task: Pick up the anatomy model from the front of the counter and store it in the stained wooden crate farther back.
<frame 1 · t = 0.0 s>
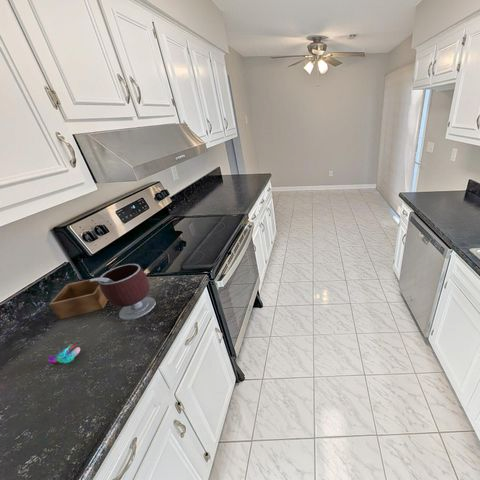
crate: (89, 303, 106), on the worktop
anatomy model: (69, 358, 81), on the worktop
mate gourd: (136, 310, 100), on the worktop
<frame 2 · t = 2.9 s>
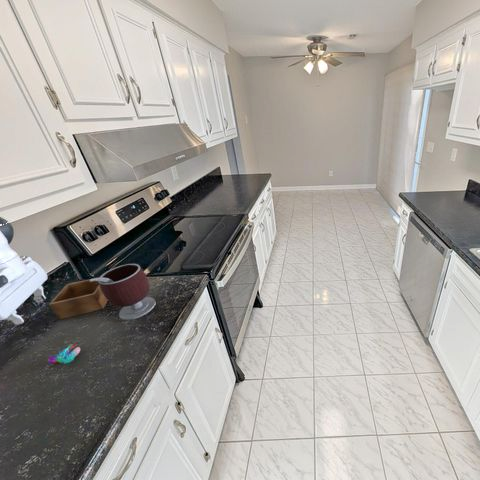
hand: (32, 311, 73), 20 cm above the worktop, tool pointing down, fingers open, 8 cm apart
nothing on the worktop moved.
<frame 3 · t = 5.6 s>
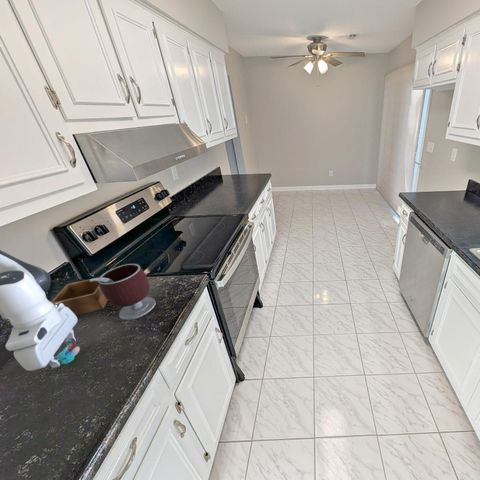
hand: (65, 353, 80), 3 cm above the worktop, tool pointing down, fingers closed on anatomy model, 7 cm apart
anatomy model: (69, 357, 81), on the worktop, touching gripper
everything else where it was.
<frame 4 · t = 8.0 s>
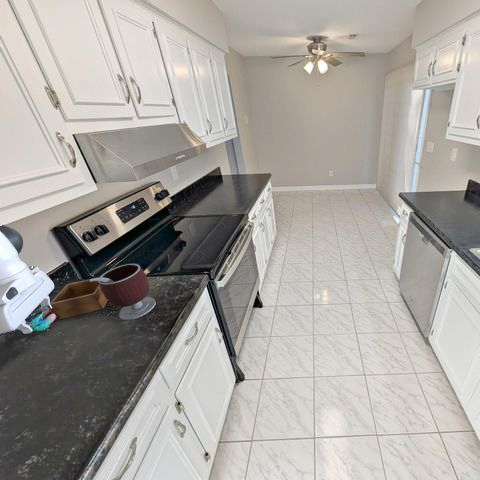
hand: (39, 320, 74), 16 cm above the worktop, tool pointing down, fingers closed on anatomy model, 7 cm apart
anatomy model: (43, 324, 76), point 14 cm above the worktop, touching gripper
everything else where it was.
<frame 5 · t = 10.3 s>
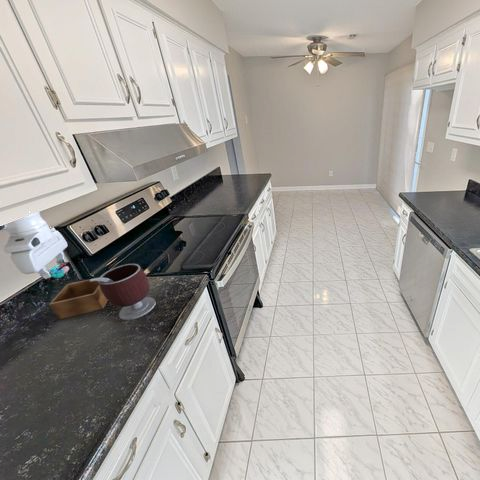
hand: (55, 270, 90), 21 cm above the worktop, tool pointing down, fingers closed on anatomy model, 7 cm apart
anatomy model: (59, 274, 92), point 19 cm above the worktop, touching gripper
everything else where it was.
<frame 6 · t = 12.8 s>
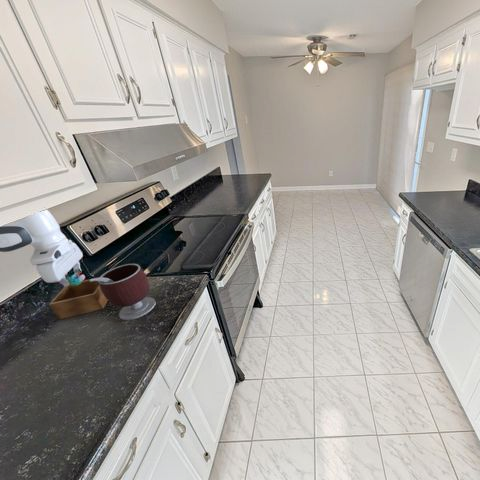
hand: (73, 278, 100), 13 cm above the worktop, tool pointing down, fingers closed on anatomy model, 7 cm apart
anatomy model: (76, 282, 101), point 10 cm above the worktop, touching gripper
everything else where it was.
when the fingers open (7 cm above the worktop, at t = 15.1 s): anatomy model drops 4 cm, resting on crate.
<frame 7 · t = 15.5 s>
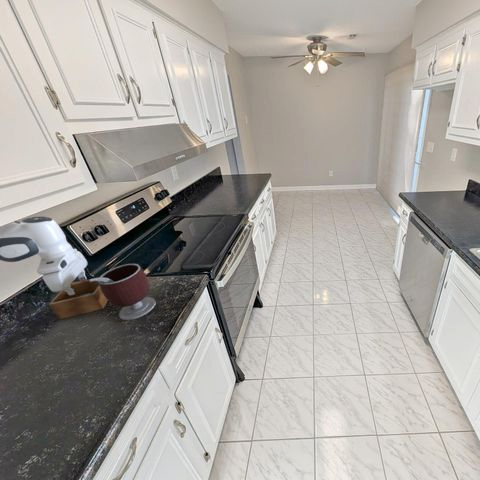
hand: (78, 286, 102), 9 cm above the worktop, tool pointing down, fingers open, 8 cm apart
anatomy model: (88, 302, 105), resting on crate
everything else where it was.
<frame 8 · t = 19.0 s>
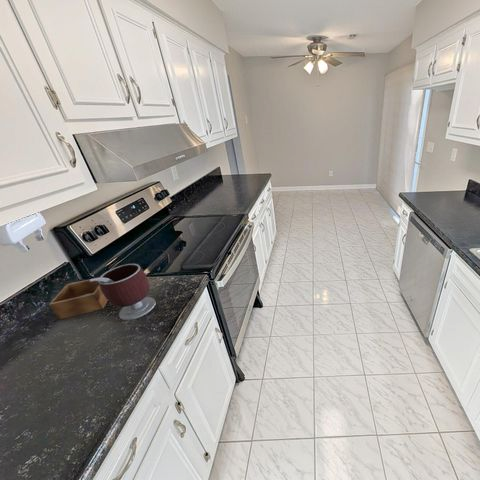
hand: (33, 245, 95), 27 cm above the worktop, tool pointing down, fingers open, 8 cm apart
nothing on the worktop moved.
at the end: anatomy model inside the target area in the crate (0.2 cm from its centre), point 0.3 cm above the crate's base; the gripper is holding nothing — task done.
